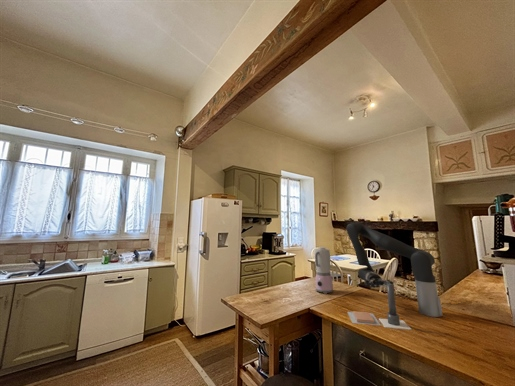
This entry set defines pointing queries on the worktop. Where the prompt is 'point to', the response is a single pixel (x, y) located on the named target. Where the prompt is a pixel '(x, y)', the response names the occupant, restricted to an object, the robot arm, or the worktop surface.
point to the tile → (363, 317)
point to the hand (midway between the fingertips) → (382, 286)
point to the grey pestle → (392, 306)
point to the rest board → (387, 325)
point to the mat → (362, 323)
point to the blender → (323, 270)
